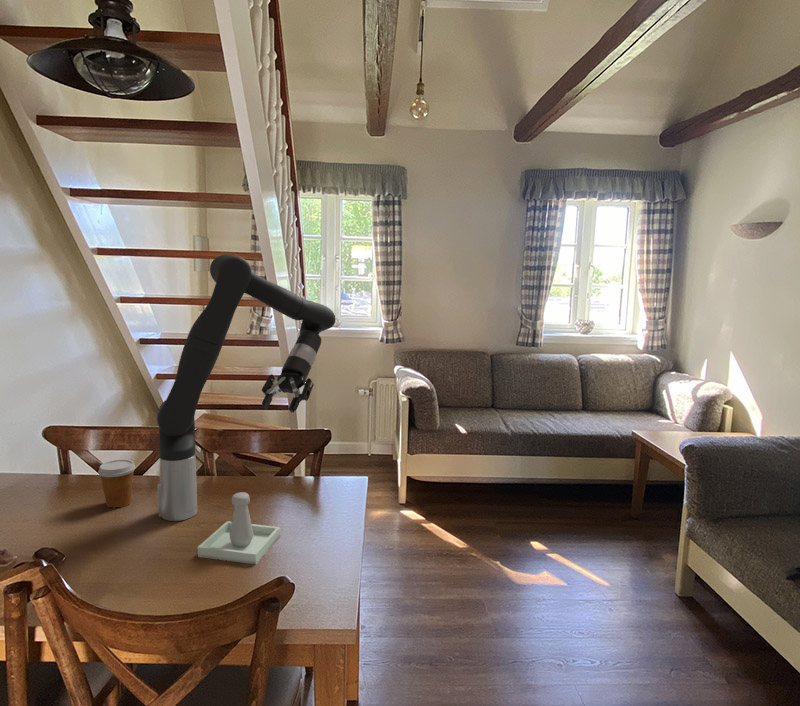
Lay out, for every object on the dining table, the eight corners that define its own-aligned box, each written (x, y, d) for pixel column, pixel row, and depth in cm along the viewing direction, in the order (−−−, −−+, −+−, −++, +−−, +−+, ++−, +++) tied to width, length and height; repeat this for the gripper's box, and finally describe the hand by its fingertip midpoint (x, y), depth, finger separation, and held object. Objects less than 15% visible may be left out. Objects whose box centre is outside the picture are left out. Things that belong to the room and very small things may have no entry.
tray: (197, 556, 127) (197, 547, 127) (227, 529, 141) (227, 521, 141) (256, 564, 125) (255, 554, 124) (280, 536, 138) (280, 527, 138)
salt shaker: (258, 540, 135) (257, 491, 133) (244, 551, 129) (243, 500, 127) (239, 536, 137) (238, 488, 135) (224, 546, 131) (223, 496, 129)
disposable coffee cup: (112, 513, 149) (109, 472, 147) (93, 505, 154) (91, 465, 152) (143, 502, 157) (142, 463, 155) (125, 494, 162) (123, 456, 160)
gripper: (273, 353, 155) (250, 399, 146) (316, 356, 150) (294, 404, 141) (283, 368, 161) (261, 413, 152) (325, 372, 156) (305, 419, 147)
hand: (277, 409), depth 147 cm, fingers open, 8 cm apart
